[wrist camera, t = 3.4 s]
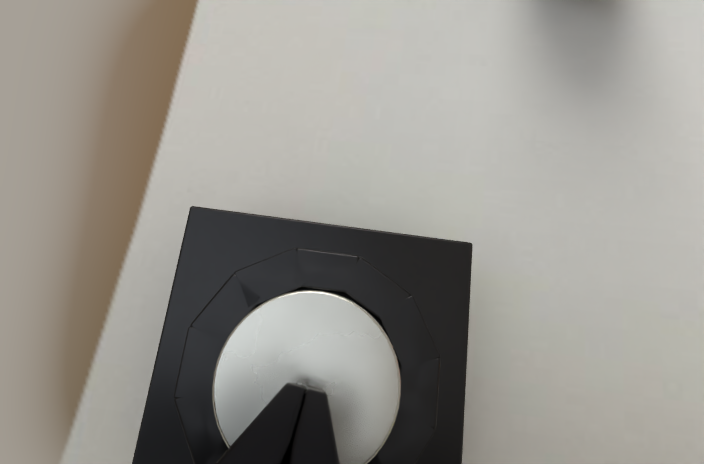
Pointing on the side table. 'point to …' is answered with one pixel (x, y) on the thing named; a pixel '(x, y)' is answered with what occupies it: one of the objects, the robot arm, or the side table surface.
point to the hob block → (321, 275)
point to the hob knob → (311, 368)
